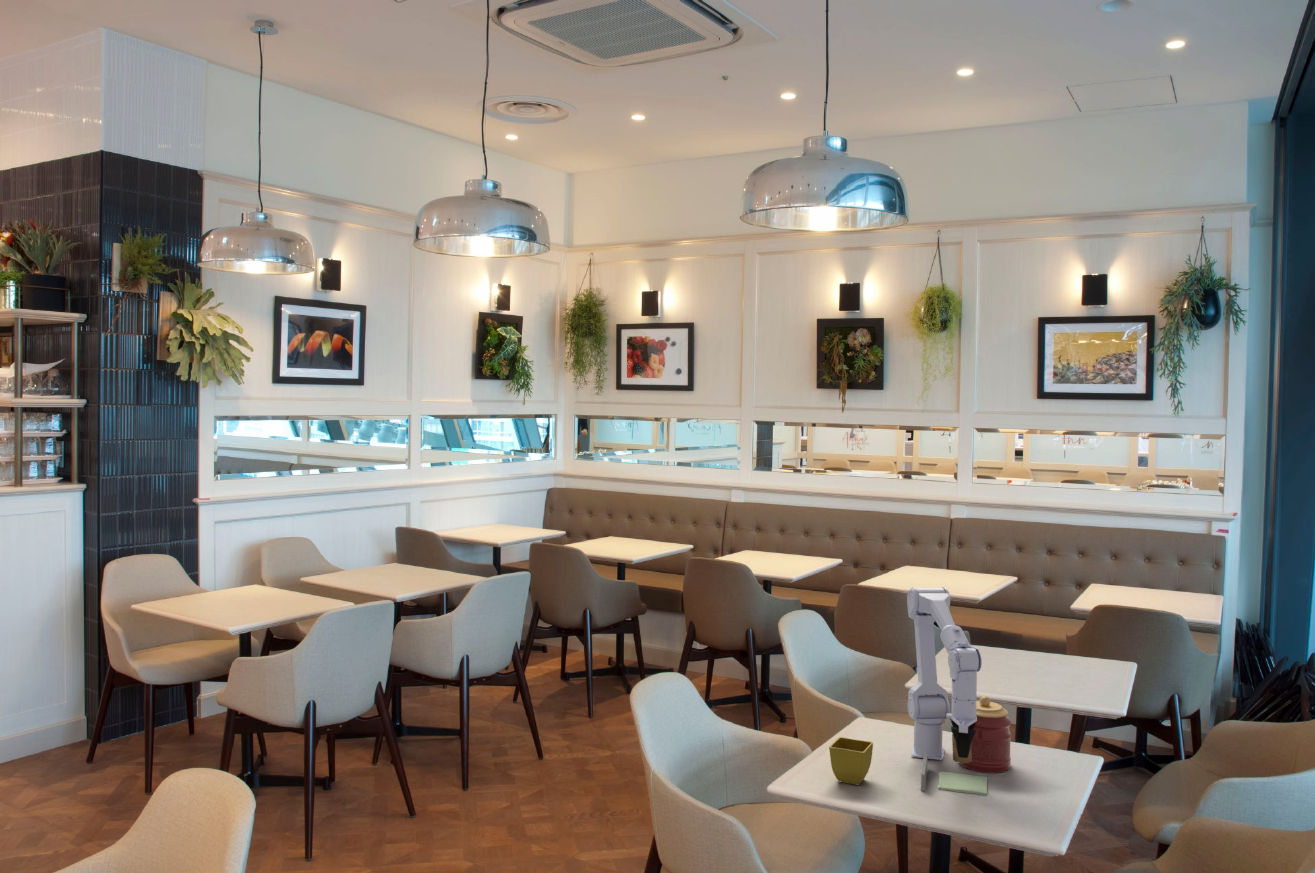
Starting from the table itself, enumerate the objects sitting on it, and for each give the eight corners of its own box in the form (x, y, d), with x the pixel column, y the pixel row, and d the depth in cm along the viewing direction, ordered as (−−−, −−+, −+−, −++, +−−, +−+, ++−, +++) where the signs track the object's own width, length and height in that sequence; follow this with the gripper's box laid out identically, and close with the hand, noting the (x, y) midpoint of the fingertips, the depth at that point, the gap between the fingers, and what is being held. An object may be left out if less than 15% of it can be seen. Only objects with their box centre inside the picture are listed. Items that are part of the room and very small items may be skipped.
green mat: (939, 773, 241) (939, 771, 241) (986, 778, 237) (986, 776, 237) (938, 789, 230) (938, 787, 230) (986, 795, 227) (987, 792, 227)
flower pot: (827, 783, 233) (828, 746, 233) (838, 771, 241) (839, 736, 241) (863, 790, 229) (864, 752, 229) (873, 778, 237) (873, 741, 237)
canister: (947, 763, 248) (948, 695, 248) (974, 752, 256) (975, 686, 256) (994, 777, 238) (995, 706, 238) (1020, 765, 247) (1021, 697, 247)
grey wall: (924, 768, 244) (924, 752, 244) (927, 768, 244) (927, 752, 244) (920, 790, 229) (921, 774, 229) (924, 791, 229) (924, 774, 229)
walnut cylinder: (953, 756, 235) (952, 731, 235) (972, 757, 234) (971, 732, 234) (952, 762, 231) (951, 737, 231) (972, 763, 230) (971, 738, 230)
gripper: (947, 688, 241) (946, 742, 241) (945, 704, 227) (945, 761, 227) (977, 691, 238) (976, 745, 239) (977, 707, 225) (976, 765, 225)
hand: (963, 753), depth 233 cm, fingers closed on walnut cylinder, 4 cm apart
